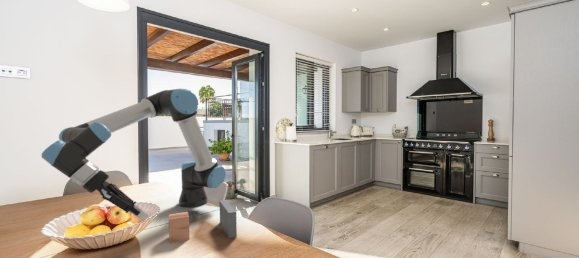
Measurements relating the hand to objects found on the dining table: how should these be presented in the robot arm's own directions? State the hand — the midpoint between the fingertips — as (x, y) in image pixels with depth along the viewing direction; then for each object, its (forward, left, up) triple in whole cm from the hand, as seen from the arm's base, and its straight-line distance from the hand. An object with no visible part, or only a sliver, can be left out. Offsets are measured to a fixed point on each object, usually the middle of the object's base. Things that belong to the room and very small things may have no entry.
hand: (146, 218), depth 101 cm
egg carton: (-19, +15, -10) cm, 27 cm away
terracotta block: (-1, +11, -10) cm, 15 cm away
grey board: (-1, +30, -10) cm, 32 cm away
